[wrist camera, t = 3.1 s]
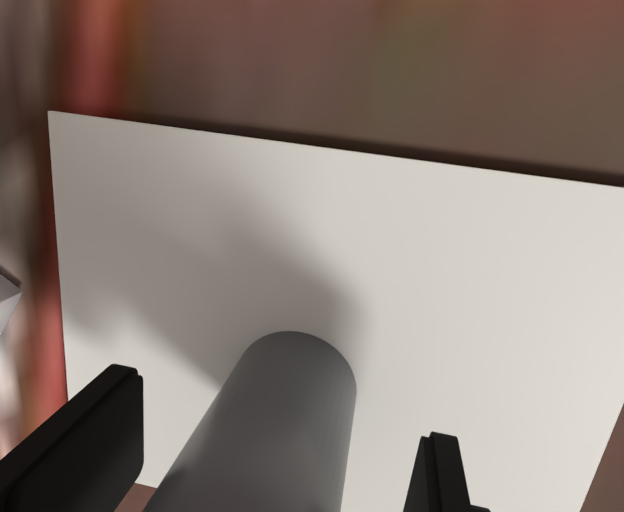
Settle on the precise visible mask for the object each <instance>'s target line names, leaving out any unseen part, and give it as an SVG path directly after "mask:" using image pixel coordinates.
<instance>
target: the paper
mask: <svg viewBox="0 0 624 512" xmlns="http://www.w3.org/2000/svg"><path fill="white" fill-rule="evenodd" d="M48 125H49V138H50V152H51V166H52V180H53V194H54V208H55V222H56V236H57V250H58V264H59V278H60V292H61V306H62V320H63V333H64V347H65V361H66V375H67V389H68V401H69V400H70V399H71V398H73V397H74V396H75V395H76V394H77V393H78V392H79V391H81V390H82V389H83V388H84V387H85V386H86V385H88V384H89V383H90V382H91V381H92V380H93V379H94V378H96V377H97V376H98V375H99V374H100V373H101V372H102V371H104V370H105V369H106V368H107V367H108V366H110V365H111V364H119V365H124V366H129V367H133V368H136V369H137V371H138V375H141V376H142V377H143V402H144V464H143V468H142V471H141V473H140V475H139V477H138V478H137V480H136V481H135V483H139V484H143V485H147V486H151V487H155V488H158V486H159V485H160V483H161V482H162V480H163V478H164V477H165V475H166V474H167V472H168V471H169V469H170V467H171V466H172V464H173V463H174V461H175V460H176V458H177V457H178V455H179V453H180V452H181V450H182V449H183V447H184V446H185V444H186V443H187V441H188V439H189V438H190V436H191V435H192V433H193V432H194V430H195V428H196V427H197V425H198V424H199V422H200V421H201V419H202V418H203V416H204V414H205V413H206V411H207V410H208V408H209V407H210V405H211V403H212V402H213V400H214V399H215V397H216V396H217V394H218V393H219V391H220V389H221V388H222V386H223V385H224V383H225V382H226V380H227V378H228V377H229V375H230V374H231V372H232V371H233V369H234V368H235V366H236V364H237V363H238V361H239V360H240V358H241V357H242V355H243V354H244V352H245V351H246V349H247V348H248V347H249V346H250V345H251V344H252V343H254V342H255V341H256V340H258V339H260V338H261V337H263V336H266V335H268V334H271V333H275V332H281V331H297V332H303V333H307V334H311V335H313V336H316V337H318V338H320V339H322V340H324V341H326V342H327V343H329V344H330V345H332V346H333V347H334V348H335V349H336V350H338V351H339V352H340V353H341V355H342V356H343V357H344V358H345V359H346V361H347V362H348V364H349V366H350V367H351V369H352V372H353V374H354V377H355V381H356V389H357V395H356V403H355V410H354V418H353V425H352V432H351V439H350V447H349V454H348V461H347V468H346V475H345V483H344V490H343V497H342V504H341V512H403V509H404V505H405V501H406V496H407V492H408V488H409V484H410V480H411V475H412V471H413V467H414V463H415V458H416V454H417V450H418V446H419V442H420V438H421V436H425V437H429V436H430V433H431V432H432V431H433V432H438V433H443V434H448V435H452V436H456V437H457V438H458V442H459V447H460V452H461V457H462V462H463V467H464V473H465V478H466V483H467V488H468V493H469V498H470V503H471V505H475V506H480V507H484V508H488V509H489V510H490V511H491V512H580V509H581V507H582V504H583V502H584V499H585V497H586V494H587V492H588V490H589V487H590V485H591V482H592V480H593V477H594V475H595V472H596V470H597V467H598V465H599V462H600V460H601V457H602V455H603V452H604V450H605V448H606V445H607V443H608V440H609V438H610V435H611V433H612V430H613V428H614V425H615V423H616V420H617V418H618V415H619V413H620V411H621V408H622V406H623V403H624V187H618V186H610V185H603V184H595V183H588V182H581V181H573V180H566V179H558V178H551V177H543V176H536V175H528V174H521V173H513V172H506V171H498V170H491V169H483V168H476V167H469V166H461V165H454V164H446V163H439V162H431V161H424V160H416V159H409V158H401V157H394V156H386V155H379V154H371V153H364V152H357V151H349V150H342V149H334V148H327V147H319V146H312V145H304V144H297V143H289V142H282V141H274V140H267V139H259V138H252V137H244V136H237V135H230V134H222V133H215V132H207V131H200V130H192V129H185V128H177V127H170V126H162V125H155V124H147V123H140V122H132V121H125V120H118V119H110V118H103V117H95V116H88V115H80V114H73V113H65V112H58V111H48Z"/></svg>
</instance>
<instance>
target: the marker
mask: <svg viewBox="0 0 624 512" xmlns="http://www.w3.org/2000/svg"><path fill="white" fill-rule="evenodd" d="M356 395H357V389H356V381H355V377H354V374H353V372H352V369H351V367H350V366H349V364H348V362H347V361H346V359H345V358H344V357H343V356H342V355H341V353H340V352H339V351H338V350H336V349H335V348H334V347H333V346H332V345H330V344H329V343H327V342H326V341H324V340H322V339H320V338H318V337H316V336H313V335H311V334H307V333H303V332H297V331H281V332H275V333H271V334H268V335H266V336H263V337H261V338H260V339H258V340H256V341H255V342H254V343H252V344H251V345H250V346H249V347H248V348H247V349H246V351H245V352H244V354H243V355H242V357H241V358H240V360H239V361H238V363H237V364H236V366H235V368H234V369H233V371H232V372H231V374H230V375H229V377H228V378H227V380H226V382H225V383H224V385H223V386H222V388H221V389H220V391H219V393H218V394H217V396H216V397H215V399H214V400H213V402H212V403H211V405H210V407H209V408H208V410H207V411H206V413H205V414H204V416H203V418H202V419H201V421H200V422H199V424H198V425H197V427H196V428H195V430H194V432H193V433H192V435H191V436H190V438H189V439H188V441H187V443H186V444H185V446H184V447H183V449H182V450H181V452H180V453H179V455H178V457H177V458H176V460H175V461H174V463H173V464H172V466H171V467H170V469H169V471H168V472H167V474H166V475H165V477H164V478H163V480H162V482H161V483H160V485H159V486H158V488H157V489H156V491H155V492H154V494H153V496H152V497H151V499H150V500H149V502H148V503H147V505H146V507H145V508H144V510H143V511H142V512H341V504H342V497H343V490H344V483H345V475H346V468H347V461H348V454H349V447H350V439H351V432H352V425H353V418H354V410H355V403H356Z"/></svg>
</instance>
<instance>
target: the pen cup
mask: <svg viewBox="0 0 624 512" xmlns="http://www.w3.org/2000/svg"><path fill="white" fill-rule="evenodd" d="M22 293H23V291H22V290H21V289H20V288H18V287H17V286H16V285H14V284H13V283H12V282H10V281H9V280H7V279H6V278H5V277H3V276H2V275H1V274H0V336H1V334H2V332H3V330H4V328H5V326H6V324H7V322H8V320H9V318H10V316H11V315H12V313H13V311H14V309H15V307H16V305H17V303H18V301H19V299H20V297H21V295H22Z"/></svg>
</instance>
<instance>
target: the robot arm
mask: <svg viewBox="0 0 624 512" xmlns="http://www.w3.org/2000/svg"><path fill="white" fill-rule="evenodd" d="M143 464H144V402H143V377H142V376H141V375H138V371H137V369H136V368H133V367H129V366H124V365H119V364H111V365H110V366H108V367H107V368H106V369H105V370H104V371H102V372H101V373H100V374H99V375H98V376H97V377H96V378H94V379H93V380H92V381H91V382H90V383H89V384H88V385H86V386H85V387H84V388H83V389H82V390H81V391H79V392H78V393H77V394H76V395H75V396H74V397H73V398H71V399H70V400H69V401H68V402H67V403H66V404H65V405H63V406H62V407H61V408H60V409H59V410H58V411H57V412H55V413H54V414H53V415H52V416H51V417H50V418H48V419H47V420H46V421H45V422H44V423H43V424H42V425H40V426H39V427H38V428H37V429H36V430H35V431H34V432H32V433H31V434H30V435H29V436H28V437H27V438H26V439H24V440H23V441H22V442H21V443H20V444H19V445H17V446H16V447H15V448H14V449H13V450H12V451H11V452H9V453H8V454H7V455H6V456H5V457H4V458H3V459H1V460H0V512H114V510H115V509H116V508H117V506H118V505H119V503H120V502H121V501H122V499H123V498H124V496H125V495H126V494H127V492H128V491H129V489H130V488H131V487H132V485H133V484H134V482H135V481H136V480H137V478H138V477H139V475H140V473H141V471H142V468H143ZM403 512H491V511H490V510H489V509H488V508H484V507H480V506H475V505H471V503H470V498H469V493H468V488H467V483H466V478H465V473H464V467H463V462H462V457H461V452H460V447H459V442H458V438H457V437H456V436H452V435H448V434H443V433H438V432H433V431H432V432H431V433H430V436H429V437H425V436H421V438H420V442H419V446H418V450H417V454H416V458H415V463H414V467H413V471H412V475H411V480H410V484H409V488H408V492H407V496H406V501H405V505H404V509H403Z"/></svg>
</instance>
